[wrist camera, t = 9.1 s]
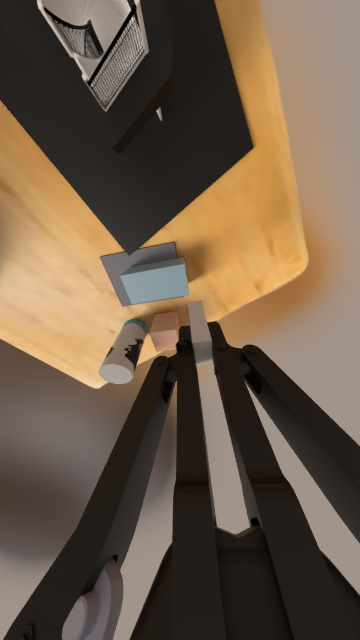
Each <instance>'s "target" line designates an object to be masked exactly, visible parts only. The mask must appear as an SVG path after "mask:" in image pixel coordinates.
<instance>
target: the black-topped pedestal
mask: <svg viewBox="0 0 360 640" xmlns="http://www.w3.org/2000/svg"><path fill="white" fill-rule="evenodd" d="M0 100H1V101H2V102H3V104H4V105H5V106H6V107H7V109H8V110H9V111H10V112H11V113H12V115H13V116H14V117H15V118H16V119H17V121H18V122H19V123H20V124H21V125H22V127H23V128H24V129H25V130H26V132H27V133H28V134H29V135H30V136H31V138H32V139H33V140H34V141H35V142H36V144H37V145H38V146H39V147H40V149H41V150H42V151H43V152H44V153H45V155H46V156H47V157H48V158H49V159H50V161H51V162H52V163H53V164H54V166H55V167H56V168H57V169H58V170H59V172H60V173H61V174H62V175H63V176H64V178H65V179H66V180H67V181H68V183H69V184H70V185H71V186H72V187H73V189H74V190H75V191H76V192H77V193H78V195H79V196H80V197H81V198H82V199H83V201H84V202H85V203H86V204H87V206H88V207H89V208H90V209H91V210H92V212H93V213H94V214H95V215H96V216H97V218H98V219H99V220H100V221H101V223H102V224H103V225H104V226H105V227H106V229H107V230H108V231H109V232H110V233H111V235H112V236H113V237H114V238H115V240H116V241H117V242H118V243H119V244H120V246H121V247H122V248H123V249H124V250H125V252H126V253H127V254H128V255H129V256H130V255H131V254H132V253H133V252H135V251H136V250H137V249H138V248H139V247H140V246H141V245H143V244H144V243H145V242H146V241H147V240H148V239H149V238H151V237H152V236H153V235H154V234H155V233H156V232H157V231H159V230H160V229H161V228H162V227H163V226H164V225H165V224H167V223H168V222H169V221H170V220H171V219H172V218H174V217H175V216H176V215H177V214H178V213H179V212H180V211H182V210H183V209H184V208H185V207H186V206H187V205H188V204H190V203H191V202H192V201H193V200H194V199H195V198H196V197H198V196H199V195H200V194H201V193H202V192H203V191H204V190H206V189H207V188H208V187H209V186H210V185H211V184H212V183H214V182H215V181H216V180H217V179H218V178H219V177H220V176H222V175H223V174H224V173H225V172H226V171H227V170H229V169H230V168H231V167H232V166H233V165H234V164H235V163H237V162H238V161H239V160H240V159H241V158H242V157H243V156H245V155H246V154H247V153H248V152H249V151H250V150H251V149H253V144H252V140H251V137H250V133H249V129H248V126H247V122H246V118H245V114H244V111H243V107H242V103H241V99H240V96H239V92H238V88H237V85H236V81H235V77H234V73H233V70H232V66H231V62H230V58H229V55H228V51H227V47H226V44H225V40H224V36H223V32H222V29H221V25H220V21H219V17H218V14H217V10H216V6H215V3H214V0H0Z"/></svg>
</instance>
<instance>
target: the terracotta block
mask: <svg viewBox="0 0 360 640" xmlns="http://www.w3.org/2000/svg"><path fill="white" fill-rule="evenodd" d="M179 329H180V324H179V320H178V315H177V311H174V312H167V313H160V314H155V316H154V319H153V323H152V326H151V330H150V336H151V338H152V341H153V344H154V346H155V349H156V351H165V350H173V349H176V343H177V342H178V341H179Z"/></svg>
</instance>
